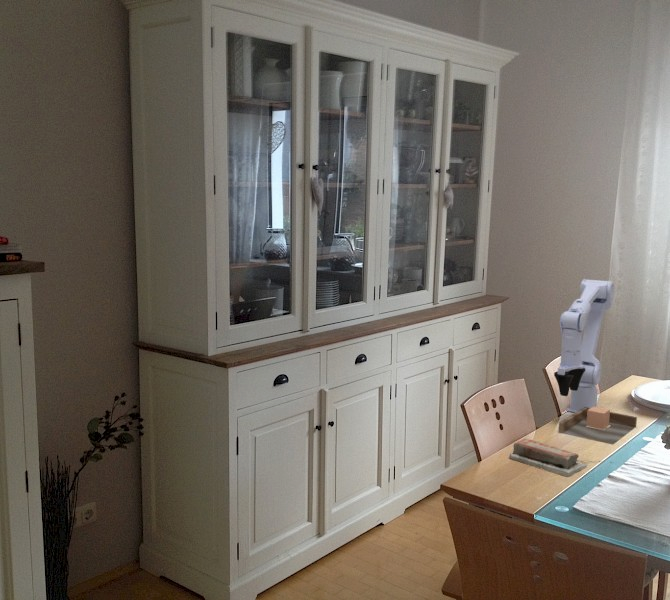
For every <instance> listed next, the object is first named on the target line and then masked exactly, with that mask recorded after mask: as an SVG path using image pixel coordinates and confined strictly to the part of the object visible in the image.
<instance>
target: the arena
mask: <svg viewBox="0 0 670 600" xmlns="http://www.w3.org/2000/svg"><path fill="white" fill-rule="evenodd" d="M589 409H590V408H588V407H584V408H582V409H581V410H579V411H577V412H576V413H575V412H573V413H572V414H570V415H569V416H568V417H566V418H564V419H563V420H561V421H560V422H558V433H559V434H564V435H568V436H573V437H577V438H582V439H586V440H591V441H595V442H599V443H604V444H608V445H615V444H616V443H617V442H619V441H620V440H621V439H622V438H624V437H625V436H627V434H629V433H630V432H631V431H633V430H634V429H635V428H637V420H638V418H637V416H634V415H629V414H622V413H618V412H613V411H610V418H609V426H608V427H606V428H605V429H603V430H602V429H598V428H593V427H588V426H587V410H589Z"/></svg>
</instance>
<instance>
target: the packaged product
mask: <svg viewBox="0 0 670 600" xmlns="http://www.w3.org/2000/svg"><path fill="white" fill-rule="evenodd" d="M579 456H580V455H579V454H578V453H575V452H573V451H570V450H565V449H563V448H559V447H557V446H553V445H549V444H546V443H543V442H540V441H536V440H533V439H529V438H524V439H521V440H518V441H516V442H515V443H513V451H512V453H509V456H508V458H509V459H510V460H514V461H516V462H519V463H522V464H525V463H526V464H525V465H528V464H529V465H528V466H531V467H534V466H535V467H534V468H537V467H538V469H540V468H542V469H541V470H543V469H544V470H543V471H547V470H548V471H547V472H550V471H551V472H550V473H553V472H554V473H553V474H556V473H557V475H560V476H563V475H564V476H563V477H566V476H569V477H570V475H571V476H572V474H573V475H574V473H575V474H576V473H578V472H580V471H582V470H585V469H586V468H587V466H588V463H583V462H581V461H577V460H578V458H579Z"/></svg>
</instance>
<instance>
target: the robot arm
mask: <svg viewBox="0 0 670 600" xmlns="http://www.w3.org/2000/svg"><path fill="white" fill-rule="evenodd" d="M579 295H580V298H577V299H575V300H574V301H573V302H572V304H571V305H570V306H569V308H568V310H567V311H564V312H562V313H561V315H560V318H559V327H560V335H561V350H560V351H561V352H560V353H561V354H560V363H559V367H558V368H557V371H555V372H554V373H553V375H554V378H555V380H556V381H557V382H556V383H557V385H558V390H559V391H558V392H559V395H560V396H562V397H568V396H569V392H570V400H569V401H570V404H569V406H568V407H566V408H565V409H564V410H565V412H571V413H576V412H577V411H579V410H581V409H582V408H584V407H588V408H592V407H598V406H597V403H598V401H597V400H598V388H597V385H599V384H600V381H601V377H602V364H601V361H600V360H599V359H597V358H596V356H595V355H596V351H597V346H598V342H599V338H600V332H601V327H602V323H603V320H604V319H603V318H604V316H605V312H606V310H608V309H611V307H612V304H613V301H614V295H615V284H614V281H613V280H598V279H597V280H595V279H587V278H583V280H581V282H580V286H579ZM583 331H584V332H583ZM582 335H583V337H582Z"/></svg>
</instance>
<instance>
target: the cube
mask: <svg viewBox="0 0 670 600" xmlns="http://www.w3.org/2000/svg"><path fill="white" fill-rule="evenodd" d="M610 412H611V409H609V408H603V407H600V406H599V407H598V406H596V407H592V408H590V409H589V410H587V426H588V427H593V428H598V429H602V430H603V429H605V428H606V427H608V426H609V418H610Z"/></svg>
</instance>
